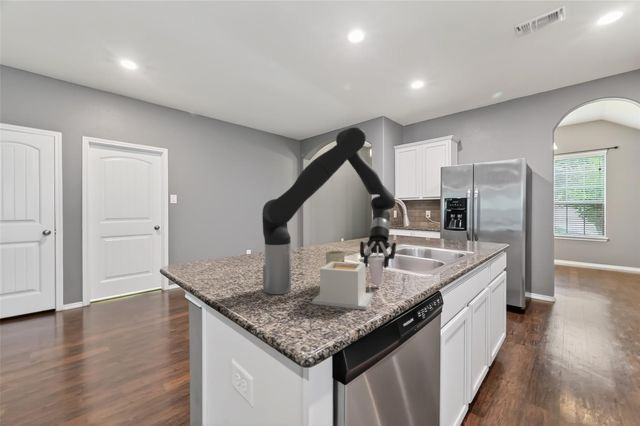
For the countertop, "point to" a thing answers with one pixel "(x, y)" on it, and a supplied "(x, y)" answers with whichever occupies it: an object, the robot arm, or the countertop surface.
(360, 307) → the white open box
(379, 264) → the smoothie
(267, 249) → the robot arm
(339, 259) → the character mug
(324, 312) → the countertop surface
